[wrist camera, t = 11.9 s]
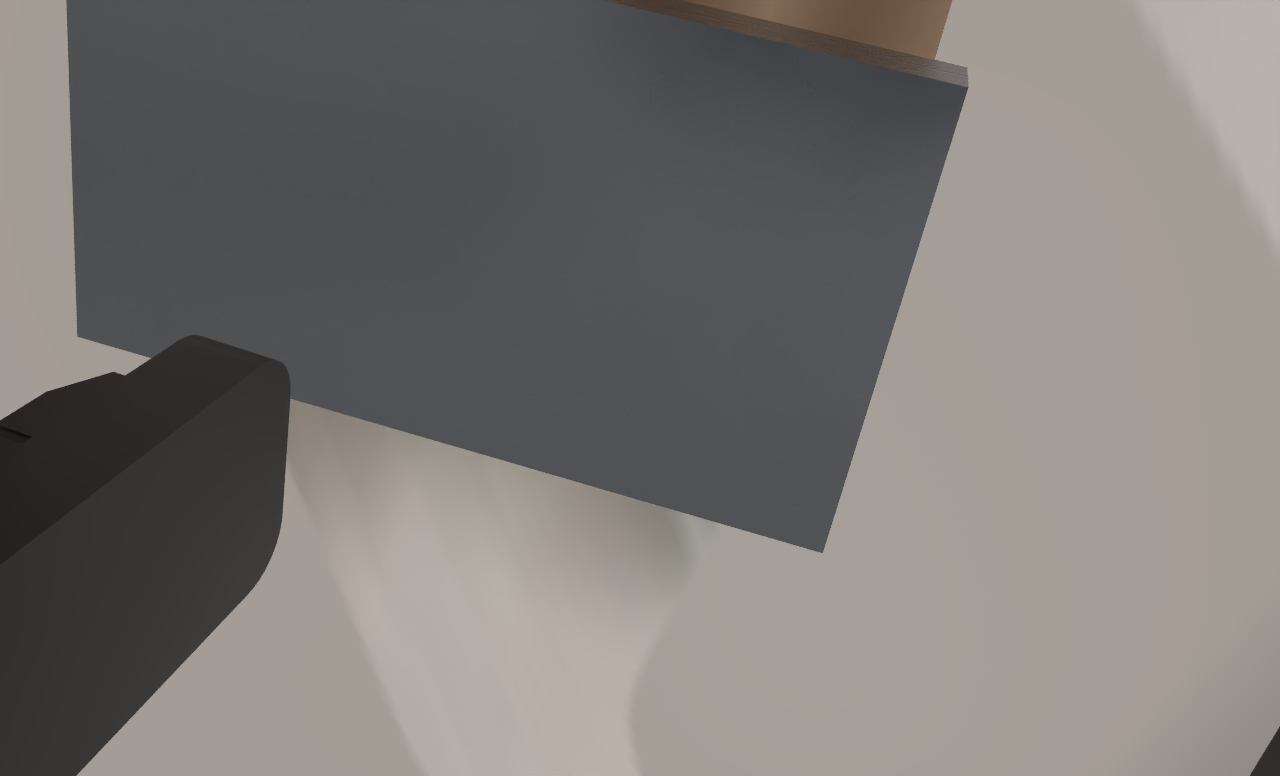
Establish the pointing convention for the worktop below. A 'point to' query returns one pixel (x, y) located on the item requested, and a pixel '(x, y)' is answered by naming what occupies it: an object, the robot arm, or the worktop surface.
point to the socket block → (855, 19)
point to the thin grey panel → (521, 225)
